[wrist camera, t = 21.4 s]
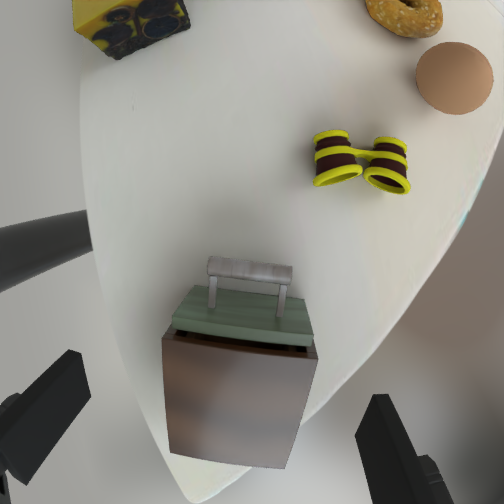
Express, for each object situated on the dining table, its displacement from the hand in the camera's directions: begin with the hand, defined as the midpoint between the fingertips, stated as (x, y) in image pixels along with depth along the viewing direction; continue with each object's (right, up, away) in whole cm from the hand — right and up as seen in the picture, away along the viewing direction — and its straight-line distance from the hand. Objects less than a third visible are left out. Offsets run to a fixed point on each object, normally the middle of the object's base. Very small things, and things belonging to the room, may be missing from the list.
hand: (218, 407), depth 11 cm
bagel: (+19, +36, +12) cm, 43 cm away
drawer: (+1, -2, +21) cm, 21 cm away
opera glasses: (+12, +16, +17) cm, 26 cm away
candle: (-11, +35, +14) cm, 39 cm away
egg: (+22, +25, +14) cm, 36 cm away
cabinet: (0, -7, +22) cm, 23 cm away
